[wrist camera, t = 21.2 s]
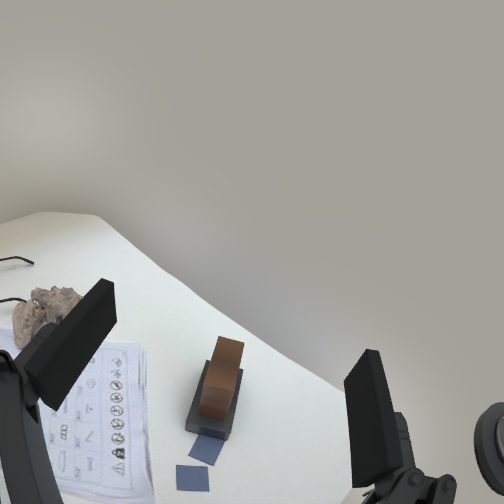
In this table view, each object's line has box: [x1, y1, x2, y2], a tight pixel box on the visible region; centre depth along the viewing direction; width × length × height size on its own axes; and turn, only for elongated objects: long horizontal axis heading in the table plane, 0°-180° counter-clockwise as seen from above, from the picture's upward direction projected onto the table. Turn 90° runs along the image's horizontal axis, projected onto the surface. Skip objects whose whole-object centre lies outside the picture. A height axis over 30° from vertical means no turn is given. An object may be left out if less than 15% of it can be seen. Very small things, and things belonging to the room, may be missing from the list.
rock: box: [12, 286, 83, 348], centre depth 32 cm, size 6×14×7 cm, turn 137°
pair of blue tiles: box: [176, 434, 225, 491], centre depth 26 cm, size 13×5×1 cm, turn 172°
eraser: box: [185, 336, 244, 441], centre depth 30 cm, size 10×5×9 cm, turn 172°
